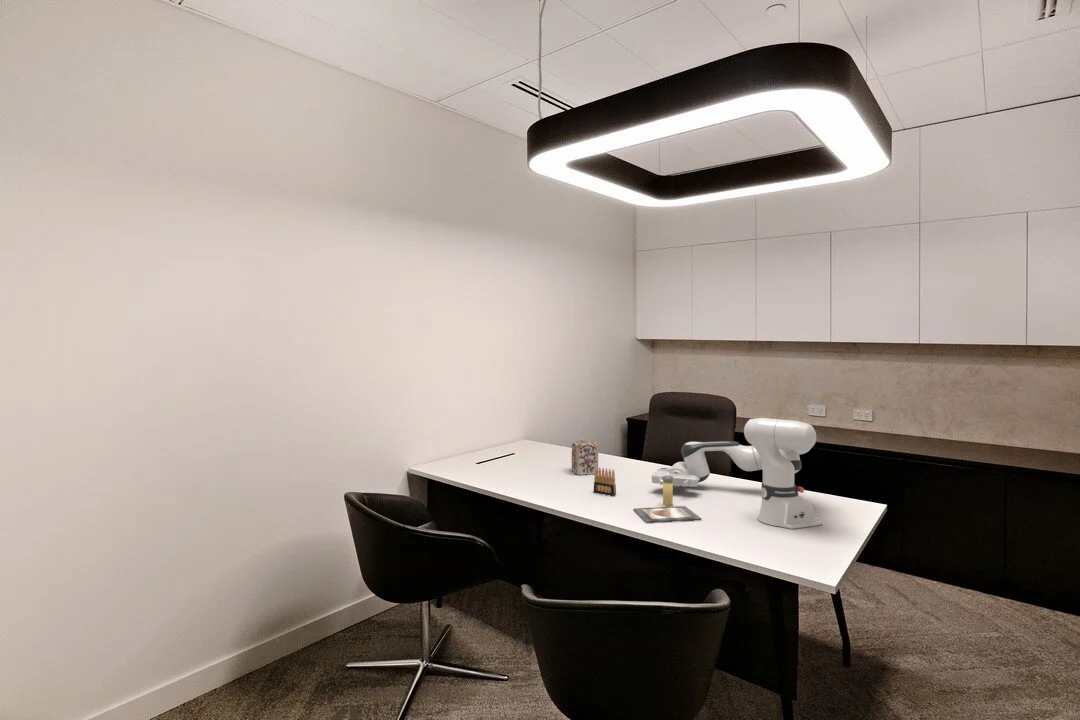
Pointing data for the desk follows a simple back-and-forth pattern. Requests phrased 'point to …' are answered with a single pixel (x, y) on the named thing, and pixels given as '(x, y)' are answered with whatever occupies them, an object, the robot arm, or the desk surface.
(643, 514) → the grey metal tray
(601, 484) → the ammunition clip
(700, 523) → the desk surface
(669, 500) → the marker
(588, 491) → the desk surface
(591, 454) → the decorative jar
